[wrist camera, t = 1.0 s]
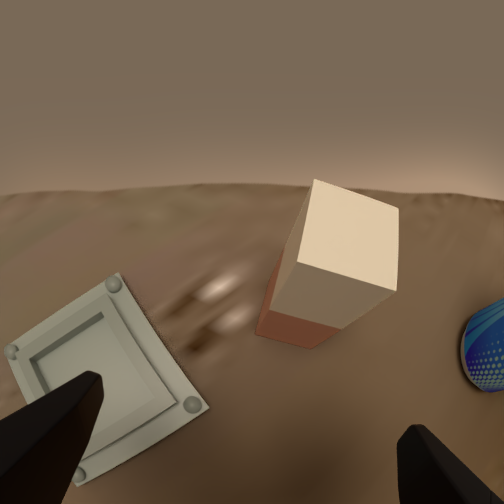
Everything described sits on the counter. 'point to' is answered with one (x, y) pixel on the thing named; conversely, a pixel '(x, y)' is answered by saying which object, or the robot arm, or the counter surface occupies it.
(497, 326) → the beer can
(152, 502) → the counter surface
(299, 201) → the counter surface
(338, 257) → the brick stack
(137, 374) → the baseplate
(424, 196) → the counter surface
